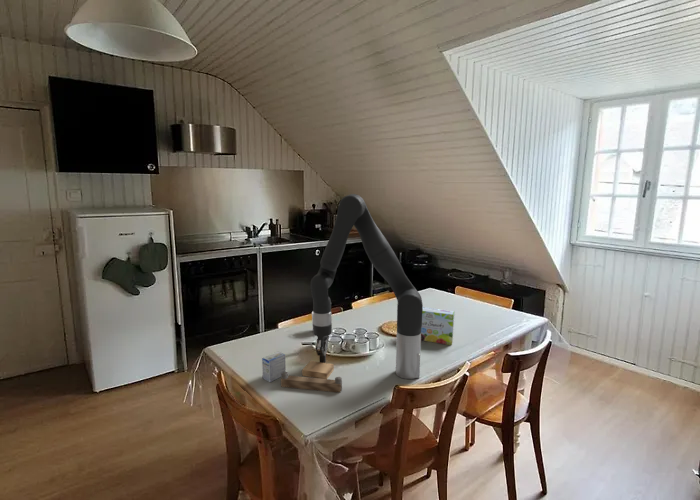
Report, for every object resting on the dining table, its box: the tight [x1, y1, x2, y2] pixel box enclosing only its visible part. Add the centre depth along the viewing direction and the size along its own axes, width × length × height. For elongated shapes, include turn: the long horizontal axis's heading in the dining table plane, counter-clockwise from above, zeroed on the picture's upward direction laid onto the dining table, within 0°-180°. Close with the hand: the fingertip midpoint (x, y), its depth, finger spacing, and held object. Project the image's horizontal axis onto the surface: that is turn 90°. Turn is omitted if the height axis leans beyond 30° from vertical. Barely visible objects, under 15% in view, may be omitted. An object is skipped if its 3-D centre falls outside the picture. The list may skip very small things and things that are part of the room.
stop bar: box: [280, 371, 343, 393], centre depth 147 cm, size 22×3×4 cm, turn 80°
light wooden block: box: [301, 360, 335, 379], centre depth 158 cm, size 10×8×3 cm
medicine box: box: [261, 351, 287, 383], centre depth 154 cm, size 8×4×9 cm, turn 141°
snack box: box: [421, 307, 455, 346], centre depth 189 cm, size 21×6×15 cm, turn 70°
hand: (322, 362), depth 163 cm, fingers closed
